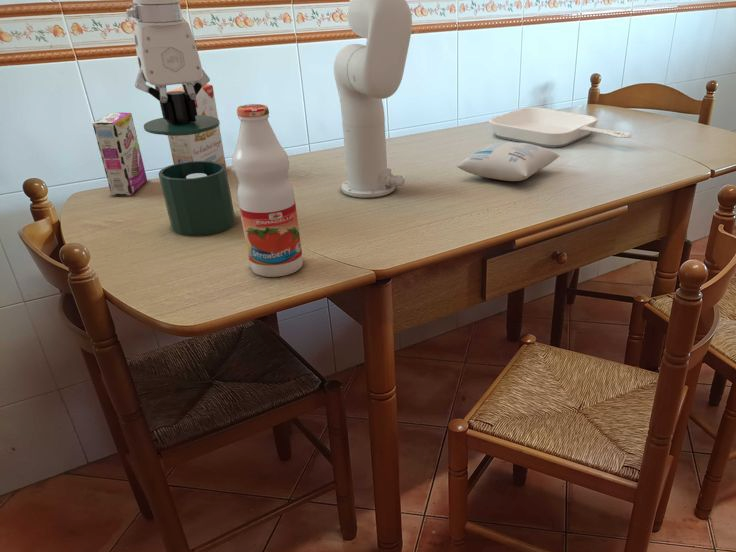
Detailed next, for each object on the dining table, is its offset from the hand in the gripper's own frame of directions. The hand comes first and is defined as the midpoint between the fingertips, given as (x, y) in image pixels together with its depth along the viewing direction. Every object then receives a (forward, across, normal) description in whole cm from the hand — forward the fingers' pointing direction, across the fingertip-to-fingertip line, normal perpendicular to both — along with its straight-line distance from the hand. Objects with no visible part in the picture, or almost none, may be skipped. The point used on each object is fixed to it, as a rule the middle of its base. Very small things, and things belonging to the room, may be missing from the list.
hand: (181, 120), depth 126 cm
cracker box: (+21, +12, +32) cm, 40 cm away
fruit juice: (+21, +3, -29) cm, 36 cm away
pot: (+21, 0, 0) cm, 21 cm away
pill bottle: (+21, +1, 0) cm, 21 cm away
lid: (+1, 0, 0) cm, 1 cm away
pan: (+21, +110, +4) cm, 112 cm away
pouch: (+21, +73, -14) cm, 77 cm away
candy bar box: (+21, -5, +33) cm, 40 cm away
